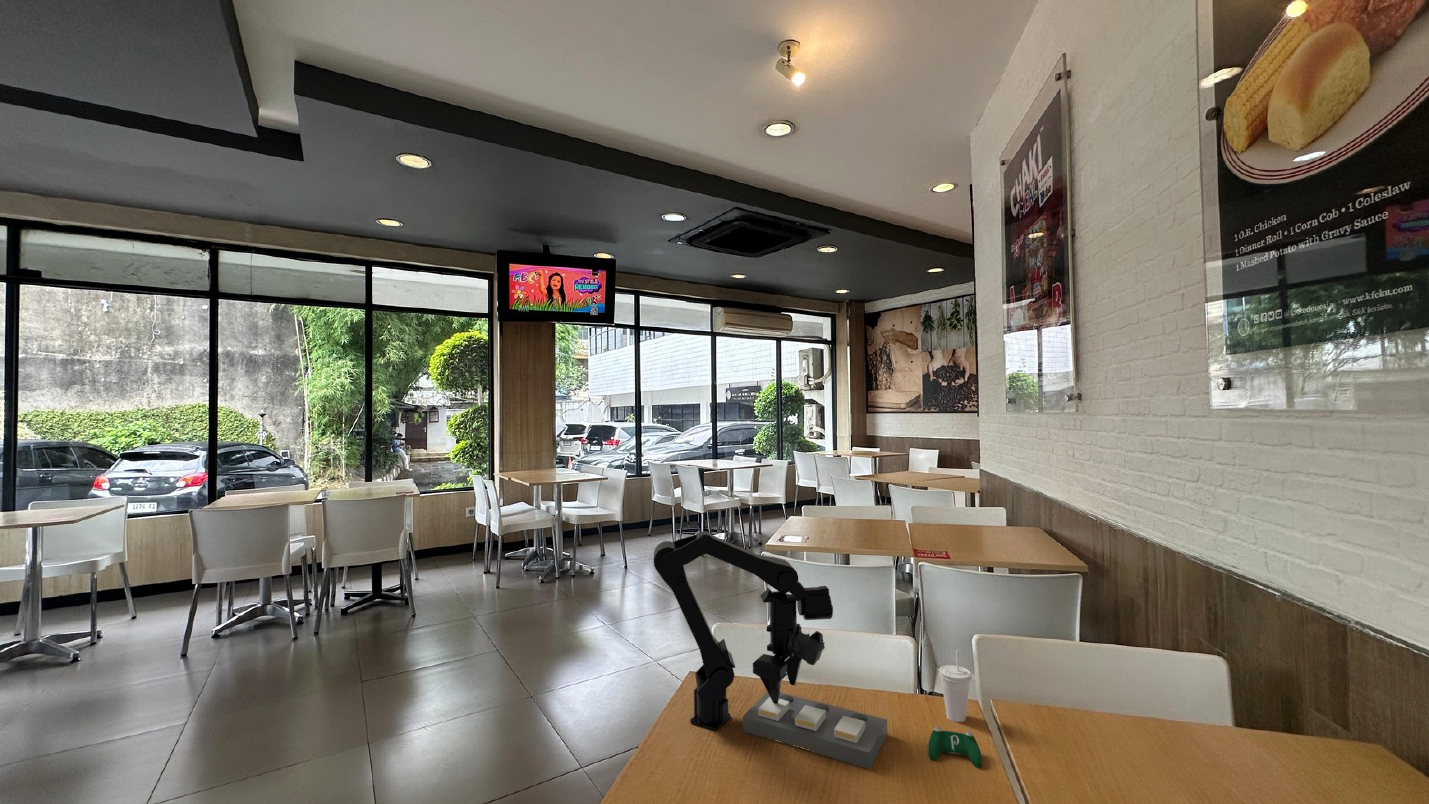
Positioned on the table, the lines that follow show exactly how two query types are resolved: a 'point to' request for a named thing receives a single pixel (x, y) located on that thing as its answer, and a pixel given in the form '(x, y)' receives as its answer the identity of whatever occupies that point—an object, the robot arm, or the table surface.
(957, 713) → the smoothie
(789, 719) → the control panel
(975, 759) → the gaming controller
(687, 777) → the table surface
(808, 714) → the middle button
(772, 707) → the left button
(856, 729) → the right button
